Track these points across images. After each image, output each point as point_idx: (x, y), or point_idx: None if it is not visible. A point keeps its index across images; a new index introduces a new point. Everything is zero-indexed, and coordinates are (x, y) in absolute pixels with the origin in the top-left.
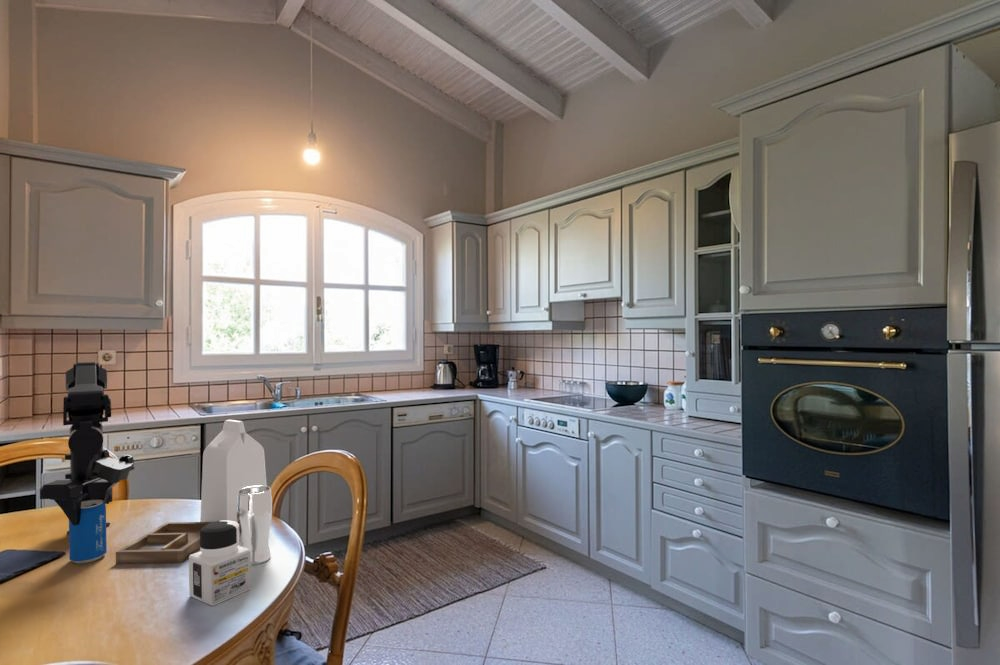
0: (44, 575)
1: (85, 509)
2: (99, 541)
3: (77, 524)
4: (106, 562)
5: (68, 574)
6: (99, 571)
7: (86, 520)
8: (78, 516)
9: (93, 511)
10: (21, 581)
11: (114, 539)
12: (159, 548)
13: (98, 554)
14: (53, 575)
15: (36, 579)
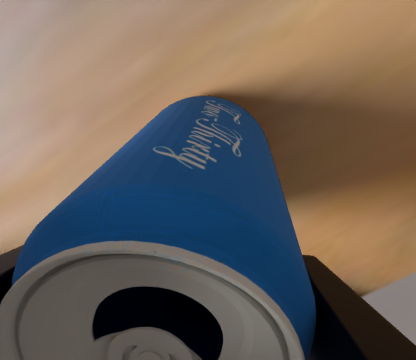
0: (348, 216)
1: (287, 315)
2: (224, 114)
3: (314, 258)
4: (255, 47)
5: (363, 134)
6: (364, 8)
7: (289, 226)
8: (346, 298)
9: (257, 229)
10: (385, 256)
11: (11, 178)
12: None
13: (231, 104)
14: (357, 186)
15: (381, 221)
